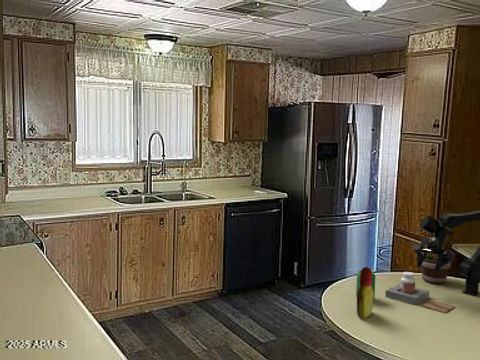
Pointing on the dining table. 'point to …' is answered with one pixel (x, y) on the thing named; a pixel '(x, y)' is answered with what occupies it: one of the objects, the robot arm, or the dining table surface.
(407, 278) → the pill bottle
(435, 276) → the flowerpot
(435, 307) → the pad
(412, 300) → the holder
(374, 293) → the beverage can
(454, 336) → the dining table surface
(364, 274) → the bottle
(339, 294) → the dining table surface
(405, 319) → the dining table surface
